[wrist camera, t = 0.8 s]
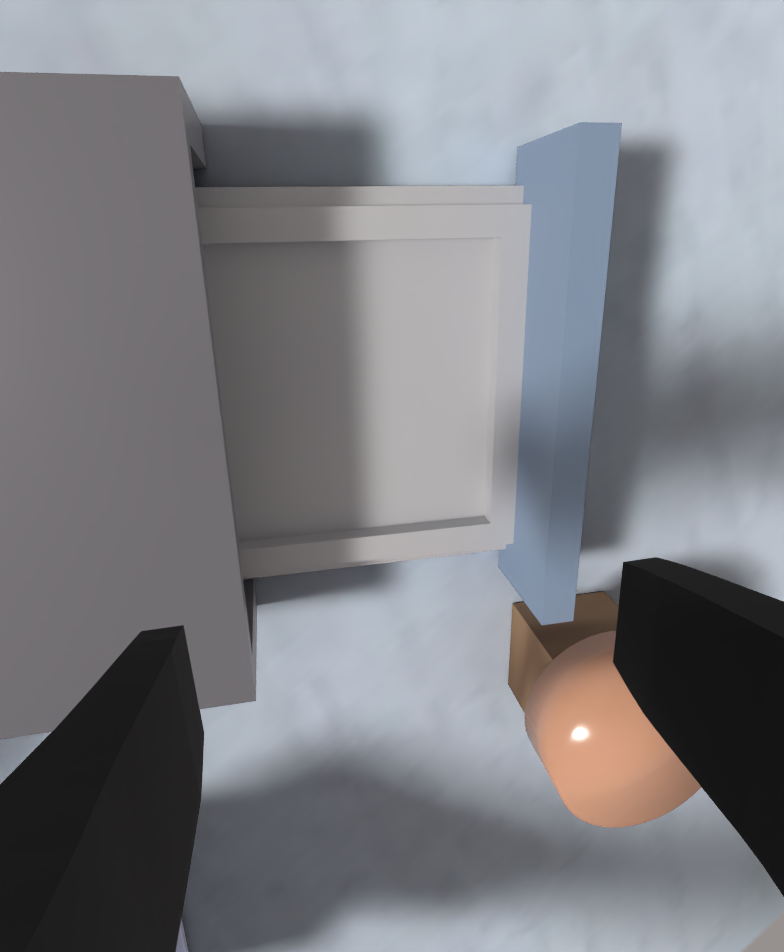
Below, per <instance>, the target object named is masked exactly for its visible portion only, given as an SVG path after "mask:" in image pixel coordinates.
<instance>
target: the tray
mask: <svg viewBox="0 0 784 952" xmlns="http://www.w3.org/2000/svg"><path fill="white" fill-rule="evenodd" d="M621 126H622V123H586V122H580V123H577V124H575V125H572V126H570V127H567V128H565V129H562V130H560V131H557V132H555V133H552V134H550V135H547V136H544V137H542V138H539V139H537V140H534V141H532V142H529V143H527V144H524V145H522V146H519V147H517V163H516V185H515V186H337V187H195V191H196V199H197V207H198V215H199V223H200V231H201V240H202V248H203V256H204V264H205V272H206V281H207V289H208V297H209V305H210V313H211V322H212V330H213V338H214V346H215V354H216V362H217V371H218V379H219V387H220V395H221V403H222V412H223V420H224V428H225V436H226V444H227V453H228V461H229V469H230V477H231V485H232V493H233V502H234V510H235V518H236V526H237V534H238V543H239V551H240V559H241V567H242V575H243V579H251V578H260V577H269V576H277V575H286V574H295V573H303V572H312V571H321V570H329V569H338V568H346V567H355V566H364V565H372V564H381V563H390V562H398V561H407V560H415V559H424V558H433V557H441V556H450V555H459V554H467V553H476V552H484V551H493V550H499V561H498V567H499V569H500V570H501V571H502V573H503V574H504V575H505V577H506V578H507V579H508V581H509V582H510V583H511V585H512V586H513V587H514V589H515V590H516V591H517V593H518V594H519V595H520V597H521V598H522V600H523V601H524V602H525V604H526V605H527V606H528V608H529V609H530V610H531V612H532V613H533V614H534V616H535V617H536V618H537V620H538V621H539V622H540V624H541V625H548V624H555V623H562V622H569V621H573V618H574V608H575V598H576V588H577V577H578V567H579V557H580V547H581V536H582V526H583V516H584V506H585V495H586V485H587V475H588V465H589V454H590V444H591V434H592V424H593V413H594V403H595V393H596V383H597V372H598V362H599V352H600V342H601V331H602V321H603V311H604V301H605V290H606V280H607V270H608V260H609V249H610V239H611V229H612V219H613V208H614V198H615V188H616V178H617V167H618V157H619V147H620V137H621Z"/></svg>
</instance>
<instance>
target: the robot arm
mask: <svg viewBox="0 0 784 952" xmlns="http://www.w3.org/2000/svg"><path fill="white" fill-rule="evenodd" d="M613 663H614V665H615V667H616V669H617V670H618V672H619V674H620V676H621V677H622V679H623V681H624V683H625V684H626V686H627V688H628V690H629V691H630V693H631V694H632V696H633V698H634V699H635V701H636V702H637V704H638V706H639V707H640V709H641V710H642V712H643V714H644V715H645V716H646V718H647V719H648V720H649V721H650V723H651V724H652V725H653V727H654V728H655V729H656V731H657V732H658V733H659V734H660V736H661V737H662V738H663V739H664V741H665V742H666V743H667V744H668V746H669V747H670V748H671V750H672V751H673V752H674V753H675V755H676V756H677V757H678V758H679V760H680V761H681V762H682V763H683V765H684V766H685V767H686V768H687V770H688V771H689V772H690V773H691V774H692V776H693V777H694V778H695V779H696V781H697V782H698V783H699V784H700V786H701V787H702V788H703V789H704V791H705V792H706V793H707V794H708V796H709V797H710V798H711V799H712V801H713V802H714V803H715V804H716V806H717V807H718V808H719V809H720V811H721V812H722V813H723V814H724V815H725V817H726V818H727V819H728V820H729V822H730V823H731V824H732V825H733V827H734V828H735V829H736V830H737V832H738V833H739V834H740V835H741V837H742V838H743V839H744V841H745V842H746V843H747V845H748V846H749V847H750V849H751V850H752V851H753V853H754V854H755V855H756V857H757V858H758V860H759V861H760V862H761V864H762V865H763V866H764V868H765V869H766V871H767V872H768V874H769V875H770V877H771V878H772V880H773V881H774V883H775V884H776V886H777V887H778V889H779V890H780V892H781V893H782V895H783V896H784V602H783V601H780V600H778V599H775V598H772V597H770V596H767V595H764V594H761V593H759V592H756V591H753V590H751V589H748V588H745V587H743V586H740V585H737V584H735V583H732V582H729V581H727V580H724V579H721V578H718V577H716V576H713V575H710V574H707V573H705V572H702V571H699V570H696V569H693V568H690V567H687V566H684V565H681V564H678V563H675V562H672V561H668V560H664V559H660V558H649V559H642V560H635V561H628V562H623V570H622V580H621V589H620V599H619V608H618V618H617V627H616V637H615V646H614V656H613ZM203 746H204V730H203V725H202V720H201V714H200V709H199V704H198V699H197V693H196V688H195V683H194V677H193V672H192V667H191V662H190V656H189V651H188V646H187V641H186V635H185V630H184V625H181V626H174V627H167V628H160V629H153V630H146V631H141V632H140V633H139V634H138V635H137V636H136V637H135V638H134V640H133V641H132V642H131V643H130V644H129V645H128V646H127V648H126V649H125V650H124V651H123V652H122V653H121V654H120V656H119V657H118V658H117V659H116V660H115V661H114V663H113V664H112V665H111V666H110V667H109V668H108V670H107V671H106V672H105V673H104V674H103V675H102V676H101V678H100V679H99V680H98V681H97V682H96V683H95V685H94V686H93V687H92V688H91V689H90V690H89V692H88V693H87V694H86V695H85V696H84V697H83V698H82V699H81V701H80V702H79V703H78V704H77V705H76V706H75V707H74V708H73V709H72V710H71V712H70V713H69V714H68V715H67V716H66V717H65V718H64V719H63V720H62V722H61V723H60V724H59V725H58V726H57V727H56V728H55V729H54V730H53V731H52V732H51V734H50V735H49V736H48V737H47V738H46V739H45V740H44V741H43V742H42V743H41V744H40V745H39V746H38V747H37V748H36V749H35V750H34V751H33V752H32V753H31V754H30V755H29V756H28V757H27V758H26V759H25V760H24V761H23V762H22V763H21V764H20V765H19V766H18V767H17V768H16V769H15V770H14V771H13V772H12V773H11V774H10V775H9V776H8V777H7V778H6V779H5V780H4V781H3V782H2V783H1V784H0V952H189V951H188V947H187V942H186V937H185V932H184V927H183V923H182V918H181V917H182V911H183V905H184V899H185V893H186V887H187V881H188V875H189V869H190V863H191V857H192V851H193V845H194V839H195V833H196V827H197V820H198V814H199V808H200V801H201V788H202V770H203Z"/></svg>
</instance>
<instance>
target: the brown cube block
mask: <svg viewBox="0 0 784 952" xmlns="http://www.w3.org/2000/svg"><path fill="white" fill-rule="evenodd" d="M618 608H619V606H618V605H617V604H616V603H615V602H614V601H613V600H612V599H611V598H610V597H609V596H608V595H607V594H606V593H605V592H604V591H602V592H595V593H587V594H580V595H576V598H575V608H574V618H573V621H569V622H562V623H555V624H548V625H541V624H540V622H539V621H538V620H537V618H536V617H535V616H534V614H533V613H532V612H531V610H530V609H529V608H528V606H527V605H526V604H525V602H519V603H513V607H512V625H511V643H510V661H509V679H508V685H509V687H510V688H511V690H512V692H513V694H514V695H515V697H516V699H517V701H518V702H519V704H520V706H521V708H522V709H523V711H524V713H525V708H526V703H527V700H528V696H529V694H530V691H531V689H532V687H533V685H534V683H535V682H536V680H537V678H538V677H539V676H540V674H541V673H542V672H543V670H544V669H545V668H546V667H547V666H548V665H549V664H550V662H551V661H552V660H554V659H555V658H556V657H557V656H558V655H559V654H560V653H562V652H563V651H565V650H566V649H567V648H569V647H570V646H572V645H574V644H576V643H577V642H579V641H581V640H583V639H586V638H588V637H590V636H593V635H596V634H599V633H604V632H609V631H616V627H617V618H618Z"/></svg>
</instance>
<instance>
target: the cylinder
mask: <svg viewBox="0 0 784 952" xmlns="http://www.w3.org/2000/svg"><path fill="white" fill-rule="evenodd" d="M615 637H616V631H609V632H604V633H599V634H596V635H593V636H590V637H588V638H586V639H583V640H581V641H579V642H577V643H576V644H574V645H572V646H570V647H569V648H567V649H566V650H565V651H563V652H562V653H560V654H559V655H558V656H557V657H556V658H555V659H554V660H552V661H551V662H550V664H549V665H548V666H547V667H546V668H545V669H544V670H543V672H542V673H541V674H540V676H539V677H538V678H537V680H536V682H535V683H534V685H533V687H532V689H531V691H530V694H529V696H528V700H527V703H526V708H525V727H526V732H527V735H528V737H529V740H530V741H531V743H532V745H533V747H534V749H535V751H536V752H537V754H538V756H539V758H540V760H541V762H542V763H543V765H544V767H545V769H546V771H547V773H548V774H549V776H550V778H551V780H552V782H553V783H554V785H555V787H556V789H557V791H558V793H559V794H560V796H561V798H562V800H563V802H564V803H565V805H566V807H567V808H568V809H569V810H570V811H571V812H572V813H573V814H574V815H575V816H576V817H578V818H579V819H581V820H583V821H585V822H587V823H590V824H593V825H597V826H602V827H626V826H633V825H637V824H641V823H645V822H647V821H650V820H653V819H656V818H658V817H660V816H662V815H664V814H666V813H668V812H670V811H671V810H673V809H675V808H676V807H678V806H679V805H681V804H682V803H684V802H685V801H686V800H688V799H689V798H690V797H691V796H692V795H694V794H695V793H696V792H697V791H698V790H699V789H700V788H701V786H700V784H699V783H698V782H697V781H696V779H695V778H694V777H693V776H692V774H691V773H690V772H689V771H688V770H687V768H686V767H685V766H684V765H683V763H682V762H681V761H680V760H679V758H678V757H677V756H676V755H675V753H674V752H673V751H672V750H671V748H670V747H669V746H668V744H667V743H666V742H665V741H664V739H663V738H662V737H661V736H660V734H659V733H658V732H657V731H656V729H655V728H654V727H653V725H652V724H651V723H650V721H649V720H648V719H647V718H646V716H645V715H644V714H643V712H642V710H641V709H640V707H639V706H638V704H637V702H636V701H635V699H634V698H633V696H632V694H631V693H630V691H629V690H628V688H627V686H626V684H625V683H624V681H623V679H622V677H621V676H620V674H619V672H618V670H617V669H616V667H615V665H614V663H613V656H614V646H615Z"/></svg>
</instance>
